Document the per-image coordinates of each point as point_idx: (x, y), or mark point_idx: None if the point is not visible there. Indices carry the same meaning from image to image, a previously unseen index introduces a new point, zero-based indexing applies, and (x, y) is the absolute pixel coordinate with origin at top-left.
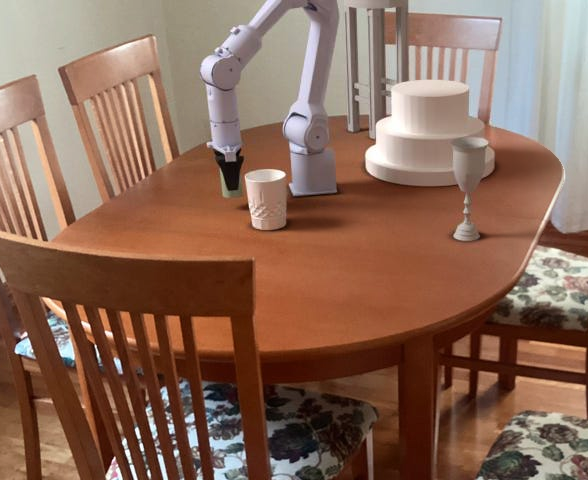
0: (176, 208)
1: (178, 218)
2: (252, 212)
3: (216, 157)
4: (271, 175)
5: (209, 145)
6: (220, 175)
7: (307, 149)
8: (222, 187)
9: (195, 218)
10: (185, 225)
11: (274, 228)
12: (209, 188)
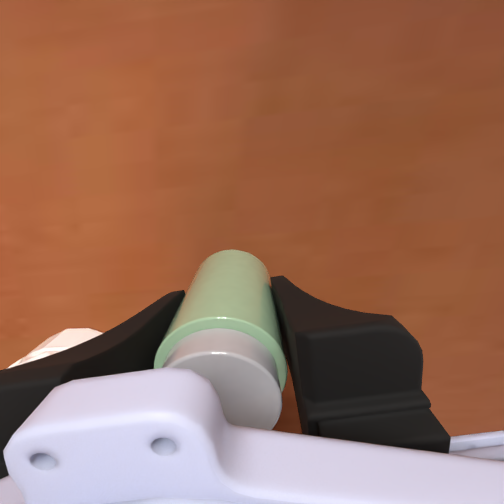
0: (246, 46)
1: (127, 72)
2: (8, 367)
3: (24, 395)
4: None
5: (15, 451)
6: (203, 290)
7: None
8: (206, 269)
9: (130, 144)
10: (54, 112)
11: None
12: (460, 165)
